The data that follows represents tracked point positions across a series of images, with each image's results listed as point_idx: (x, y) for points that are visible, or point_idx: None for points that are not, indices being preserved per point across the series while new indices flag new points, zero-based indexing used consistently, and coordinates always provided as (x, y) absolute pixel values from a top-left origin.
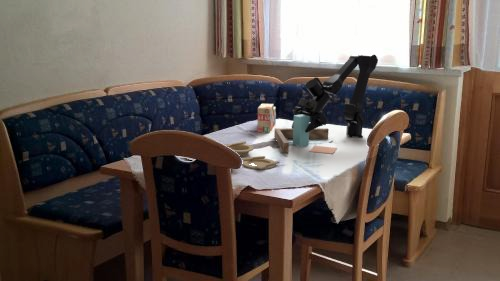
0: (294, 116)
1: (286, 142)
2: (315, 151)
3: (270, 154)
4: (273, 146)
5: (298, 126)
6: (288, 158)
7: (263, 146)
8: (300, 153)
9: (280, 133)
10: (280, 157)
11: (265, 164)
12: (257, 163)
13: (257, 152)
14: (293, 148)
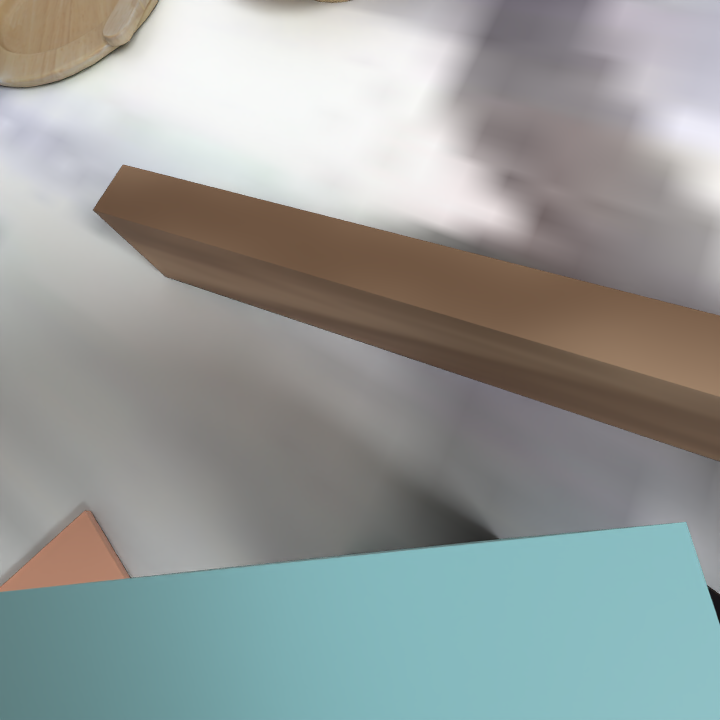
0: (578, 537)
1: (121, 196)
2: (28, 568)
3: (223, 135)
4: None
5: (307, 559)
6: (53, 214)
7: (511, 168)
8: (100, 383)
9: (651, 344)
10: (111, 172)
11: (46, 39)
12: (90, 6)
13: (328, 68)
14: (296, 422)
